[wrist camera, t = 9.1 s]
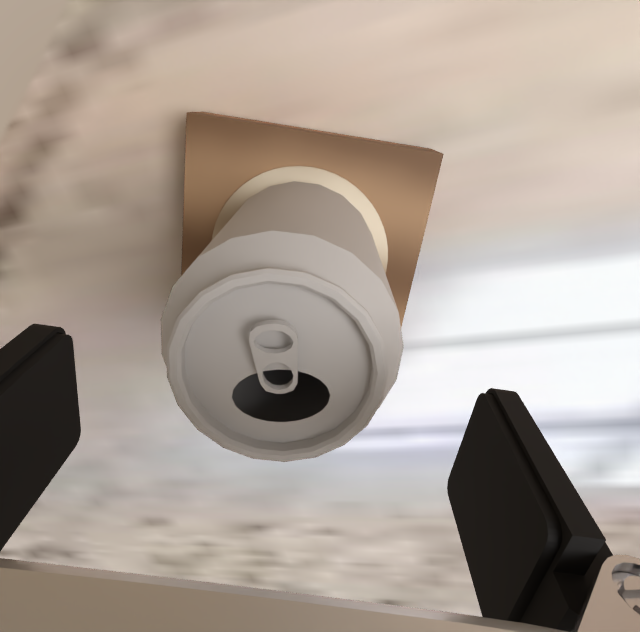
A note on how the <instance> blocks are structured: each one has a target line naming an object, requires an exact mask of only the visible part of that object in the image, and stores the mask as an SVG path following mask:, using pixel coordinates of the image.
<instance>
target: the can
mask: <svg viewBox="0 0 640 632" xmlns="http://www.w3.org/2000/svg"><path fill="white" fill-rule="evenodd" d="M161 346H162V356H163V358H164V361H165V364H166V366H167V378H168V380H169V383H170V386H171V388H172V391H173V394H174V396H175V399H176V402H177V404H178V406H179V407H180V408H181V410H182V411H183V412H184V413H185V415H186V416H187V417H188V418H189V420H190V421H191V422H192V423H193V425H194V426H195V427H196V428H197V430H199V431H200V432H202V433H203V434H205V435H206V436H207V437H209V438H210V439H212V440H213V441H215V442H216V443H217V444H219V445H220V446H222V447H223V448H226V449H229V450H231V451H234V452H237V453H239V454H242V455H245V456H248V457H250V458H253V459H263V460H272V461H282V462H287V461H294V460H300V459H307V458H314V457H318V456H320V455H322V454H324V453H327V452H329V451H331V450H334V449H336V448H338V447H341V446H343V445H345V444H346V443H347V442H348V441H349V440H351V439H352V438H353V437H354V436H355V435H357V434H358V433H359V432H360V431H361V430H363V429H364V428H365V427H366V426H367V425H368V423H369V422H370V420H371V419H372V417H373V415H374V414H375V412H376V410H377V409H378V408H379V407H380V405H381V404H382V402H383V401H384V399H385V397H386V396H387V394H388V392H389V391H390V389H391V388H392V386H393V384H394V383H395V381H396V380H397V375H398V370H399V366H400V361H401V356H402V352H403V340H402V332H401V325H400V318H399V312H398V309H397V306H396V303H395V300H394V297H393V295H392V292H391V289H390V286H389V283H388V280H387V277H386V274H385V271H384V268H383V265H382V262H381V260H380V257H379V254H378V251H377V248H376V245H375V242H374V239H373V236H372V234H371V232H370V230H369V228H368V226H367V224H366V222H365V220H364V218H363V216H362V214H361V213H360V212H359V211H358V210H357V209H356V208H355V207H354V206H353V205H352V204H351V203H350V202H349V201H348V200H347V199H346V198H345V197H344V196H343V195H341V194H339V193H337V192H334V191H332V190H330V189H328V188H326V187H324V186H322V185H320V184H312V183H304V182H296V181H293V182H288V183H283V184H278V185H273V186H269V187H267V188H266V189H264V190H262V191H261V192H259V193H257V194H255V195H254V196H252V197H250V198H249V199H247V201H246V202H245V203H244V204H243V205H242V206H241V208H240V209H239V210H238V211H237V212H236V213H235V214H234V216H233V217H232V218H231V219H230V220H229V221H228V223H227V224H226V225H225V226H224V227H223V228H222V229H221V231H220V232H219V233H218V234H217V235H216V236H215V238H214V239H213V240H212V241H211V242H210V243H209V244H208V246H207V247H206V248H205V249H204V250H203V251H202V253H201V254H200V255H199V256H198V257H197V258H196V260H195V261H194V262H193V263H192V264H191V265H190V267H189V268H188V269H187V270H186V271H185V272H184V274H183V275H182V276H181V277H180V278H179V279H178V281H177V282H176V283H175V284H174V285H173V287H172V290H171V293H170V295H169V298H168V301H167V304H166V307H165V309H164V312H163V315H162V318H161Z"/></svg>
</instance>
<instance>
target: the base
mask: <svg viewBox="0 0 640 632" xmlns="http://www.w3.org/2000/svg"><path fill="white" fill-rule="evenodd" d="M442 158H443V154H442V153H440V152H437V151H435V150H433V149H429V148H423V147H417V146H411V145H404V144H398V143H392V142H386V141H380V140H374V139H367V138H361V137H355V136H349V135H343V134H337V133H330V132H324V131H318V130H312V129H306V128H299V127H293V126H287V125H281V124H275V123H269V122H262V121H256V120H250V119H244V118H238V117H232V116H225V115H219V114H213V113H207V112H187V117H186V148H185V179H184V211H183V242H182V273H181V276H182V275H183V274H184V272H185V271H186V270H187V269H188V268H189V267H190V265H191V264H192V263H193V262H194V261H195V260H196V258H197V257H198V256H199V255H200V254H201V253H202V251H203V250H204V249H205V248H206V247H207V246H208V244H209V243H210V242H211V241H212V240H213V239H214V238H215V236H216V235H217V234H218V233H219V232H220V231H221V229H222V228H223V227H224V226H225V225H226V224H227V223H228V221H229V220H230V219H231V218H232V217H233V216H234V214H235V213H236V212H237V211H238V210H239V209H240V208H241V206H242V205H243V204H244V203H245V202H246V201H247V199H249V198H250V197H252V196H254V195H255V194H257V193H259V192H261V191H262V190H264V189H266V188H267V187H269V186H273V185H278V184H283V183H288V182H293V181H296V182H304V183H312V184H320V185H322V186H324V187H326V188H328V189H330V190H332V191H334V192H337V193H339V194H341V195H343V196H344V197H345V198H346V199H347V200H348V201H349V202H350V203H351V204H352V205H353V206H354V207H355V208H356V209H357V210H358V211H359V212H360V213H361V214H362V216H363V218H364V220H365V222H366V224H367V226H368V228H369V230H370V232H371V234H372V236H373V239H374V242H375V245H376V248H377V251H378V254H379V257H380V260H381V262H382V265H383V268H384V271H385V274H386V277H387V280H388V283H389V286H390V289H391V292H392V295H393V297H394V300H395V303H396V306H397V309H398V312H399V318H400V325H401V326H402V322H403V318H404V314H405V310H406V305H407V301H408V297H409V293H410V289H411V285H412V281H413V277H414V273H415V269H416V264H417V260H418V256H419V252H420V248H421V244H422V240H423V236H424V232H425V228H426V223H427V219H428V215H429V211H430V207H431V203H432V199H433V195H434V191H435V187H436V182H437V178H438V174H439V170H440V166H441V162H442Z"/></svg>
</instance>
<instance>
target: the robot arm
mask: <svg viewBox="0 0 640 632" xmlns="http://www.w3.org/2000/svg"><path fill="white" fill-rule="evenodd" d="M80 433H81V427H80V416H79V405H78V394H77V383H76V372H75V361H74V350H73V341H72V338H71V336H70V335H66V334H65V331H64V329H63V328H61V327H54V326H47V325H40V324H33V325H31V326H29V327H28V328H27V329H25V330H24V331H23V332H21V333H20V334H19V335H18V336H16V337H15V338H14V339H13V340H11V341H10V342H9V343H7V344H6V345H5V346H4V347H2V348H1V349H0V551H1V550H2V548H3V547H4V545H5V544H6V543H7V541H8V540H9V538H10V537H11V536H12V534H13V533H14V531H15V530H16V529H17V527H18V526H19V525H20V523H21V522H22V520H23V519H24V518H25V516H26V515H27V513H28V512H29V511H30V509H31V508H32V506H33V505H34V504H35V502H36V501H37V499H38V498H39V497H40V495H41V494H42V493H43V491H44V490H45V488H46V487H47V486H48V484H49V483H50V481H51V480H52V479H53V477H54V476H55V474H56V473H57V472H58V470H59V469H60V468H61V466H62V465H63V463H64V462H65V461H66V459H67V458H68V456H69V455H70V454H71V452H72V451H73V449H74V448H75V447H76V445H77V443H78V441H79V438H80ZM447 489H448V496H449V500H450V503H451V507H452V510H453V514H454V517H455V521H456V524H457V528H458V531H459V535H460V539H461V542H462V546H463V549H464V553H465V556H466V560H467V563H468V567H469V570H470V574H471V577H472V581H473V585H474V588H475V592H476V595H477V599H478V602H479V606H480V609H481V613H482V616H483V617H478V616H471V615H464V614H457V613H450V612H443V611H435V610H427V609H419V608H411V607H403V606H395V605H388V604H380V603H372V602H364V601H356V600H348V599H340V598H332V597H324V596H316V595H308V594H300V593H292V592H284V591H276V590H267V589H259V588H251V587H243V586H234V585H226V584H218V583H209V582H201V581H193V580H184V579H176V578H168V577H159V576H151V575H142V574H134V573H125V572H116V571H108V570H99V569H90V568H81V567H73V566H64V565H55V564H47V563H38V562H29V561H20V560H12V559H2V558H0V632H640V559H639V558H635V557H632V556H629V555H614V556H613V554H612V553H611V551H610V549H609V548H608V546H607V544H606V543H605V541H606V539H605V537H604V536H603V534H602V532H601V531H600V529H599V527H598V526H597V524H596V523H595V521H594V519H593V518H592V516H591V514H590V513H589V511H588V509H587V508H586V506H585V504H584V503H583V501H582V499H581V498H580V496H579V494H578V493H577V491H576V489H575V488H574V486H573V484H572V483H571V481H570V479H569V478H568V476H567V475H566V473H565V471H564V470H563V468H562V466H561V465H560V463H559V461H558V460H557V458H556V456H555V455H554V453H553V451H552V450H551V448H550V446H549V445H548V443H547V441H546V440H545V438H544V436H543V435H542V433H541V431H540V430H539V428H538V427H537V425H536V423H535V422H534V420H533V418H532V417H531V415H530V413H529V412H528V410H527V408H526V407H525V405H524V403H523V402H522V400H521V398H520V397H519V395H518V394H517V393H516V392H514V391H507V390H500V389H493V388H491V389H489V390H488V391H487V392H486V394H484V393H481V394H480V395H479V396H478V398H477V401H476V403H475V406H474V409H473V412H472V415H471V417H470V420H469V423H468V426H467V428H466V431H465V434H464V437H463V440H462V442H461V445H460V448H459V451H458V454H457V456H456V459H455V462H454V465H453V467H452V470H451V473H450V476H449V479H448V487H447Z"/></svg>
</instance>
